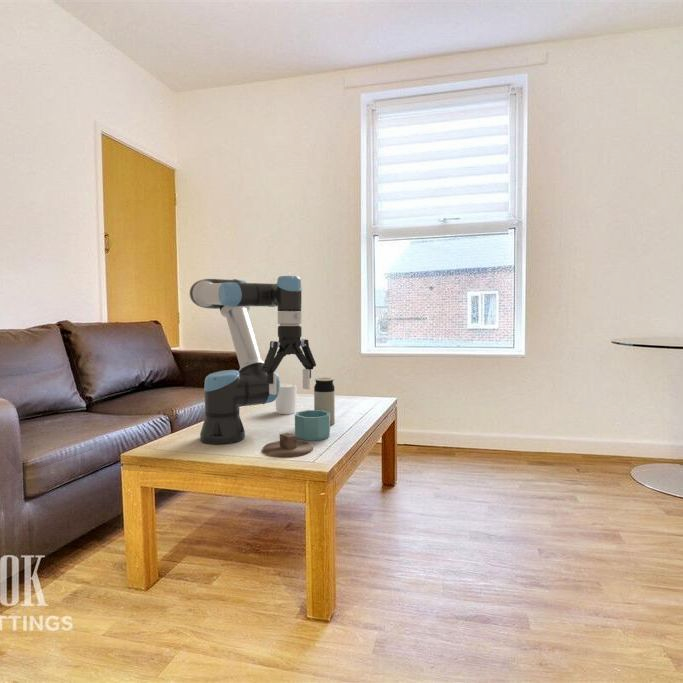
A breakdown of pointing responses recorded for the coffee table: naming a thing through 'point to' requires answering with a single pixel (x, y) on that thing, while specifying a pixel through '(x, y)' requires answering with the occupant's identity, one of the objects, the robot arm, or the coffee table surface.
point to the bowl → (312, 425)
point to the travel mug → (325, 396)
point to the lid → (288, 447)
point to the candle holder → (286, 399)
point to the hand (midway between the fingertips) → (290, 391)
